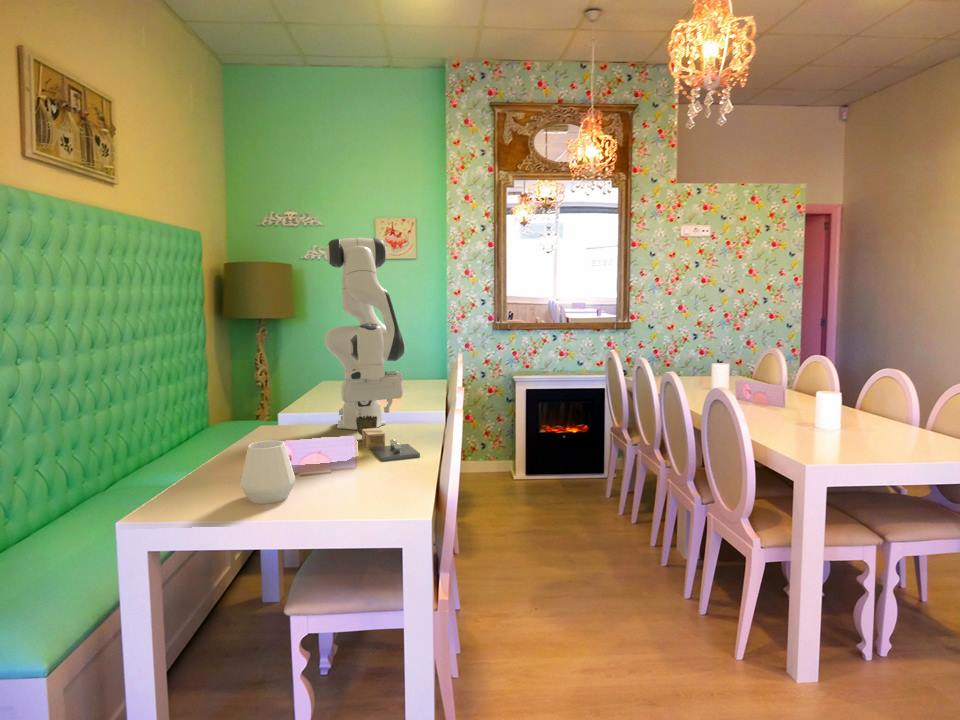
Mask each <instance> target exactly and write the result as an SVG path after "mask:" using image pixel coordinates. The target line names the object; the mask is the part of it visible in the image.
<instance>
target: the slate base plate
mask: <svg viewBox="0 0 960 720" xmlns="http://www.w3.org/2000/svg"><path fill="white" fill-rule="evenodd" d="M389 441H390V442H389V445H385V446H380V447H372V450H371V451H372V452H373V453H374V455H376V456H377V458H379V459H380V460H381V461H382V462H387V461H388V462H389V461H396V460H405V459H406V460H407V459H414V458H421V453H420V452H419V451H418V450H417V449H415V448H414V447H412V446H411V445H410V444H409V443H401V442H398V441H397V439H390V440H389Z"/></svg>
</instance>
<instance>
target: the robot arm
mask: <svg viewBox="0 0 960 720" xmlns="http://www.w3.org/2000/svg"><path fill="white" fill-rule="evenodd" d="M326 246H327V247H326V249H325V255H326V259H327V261H328V264H329V265H330V266H331V267H334V268H338V269H339V268H342V274H341V297H342V300H341V301H342V309H343V311H344V312H345V313H346V314H347V315H349V316H351V317H352V318H356V319H357V320H358V322H359V325H340V326H335V327H332V328H331V327H330V328H329V329H328V330H327V332H326V334H325V337H324V344H325V345H324V346H325V347H326V350H328V352H329V353H330V354H332V355H333V356H335V357H336V359H338V360H339V362H340V364H341V365H342V367H343V371H344V374H343V375H344V380H343V382H342V384H341V395H340V396H341V397H340V398H341V400H342V401H343V402H344V403H343V406H342V408H339V409H338V416H340V418H338V419H337V426H336V428H337V429H344V430H345V429H346V430H358V429H357V423H356V419H357V417H359V416H361V417H363V416H365V418H366V416H367V415H368V416H371V417H373V416H374V417H375V416H377V426H376V428H379V427H381V426H383V425H387V421H386V420H384V419H383V417H382V416H383V414H382V404H381V403H380V402H379V401H380V400H381V401H382V400H386V402H387V405H386V406H383V412H384V413H390V407H391V406H392V404H393V400H395V399H397V400H398V399H401V398H403V395H404V393H403V387H402V382H403V375H402V374H401V373H400V372H399V371H396V370H395V371H386V366H385V365H386V364H385V361H389V362H391V361H392V362H397V361H398V360H399V359H400V358H402V357H403V355H405V346H406V345H405V340H404V338H403V335H402V333H401V331H400V327H399V324H398V320H397V316H396V314H395V313H396V312H395V309H394V306H393V302H392V300H391V297H390V294H389V291H388V290H387V289H386V288H384V287H382V286H381V283H380V282H379V280H378V275H377V274H378V272H377V269H378V268H380V267H382V266H383V265H384V264H385V262H386V260H387V255H388V250H387V246H386V244H385V242H384V241H383V239H381V238H380V239H379V238H375V237H373V238H370V237H369V238H368V237H351V238H350V237H348V238H334V239H330V241H329V242H328V243H327V245H326ZM374 307H375V308H376V309H377V310H378V311H379V312H380V313H381V316H382V319H383V322H384V323H383V322H382V321H381V320H380V319H379V317H378V316H377V315H376V313H375V308H374Z"/></svg>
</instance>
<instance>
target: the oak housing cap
mask: <svg viewBox="0 0 960 720" xmlns="http://www.w3.org/2000/svg"><path fill="white" fill-rule="evenodd" d="M361 439H362V440H361V443H362V445H364V447H365V448H366V449H367V450H368V451H372V447H380V446H386V434H385V432H384V431H383V430H382V429H380V428H379V427H376V428H367V429H362V435H361Z"/></svg>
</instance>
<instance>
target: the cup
mask: <svg viewBox="0 0 960 720" xmlns="http://www.w3.org/2000/svg"><path fill="white" fill-rule="evenodd" d="M356 423H357V429H356V430H357V433H359V435H360V436H362V429H367V428H377V427H376V426H377V416H375V417H374V416H373V417H371V416H368V415H367V416H366V418H365V416H363V417H361V416H359V417H357V419H356Z"/></svg>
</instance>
